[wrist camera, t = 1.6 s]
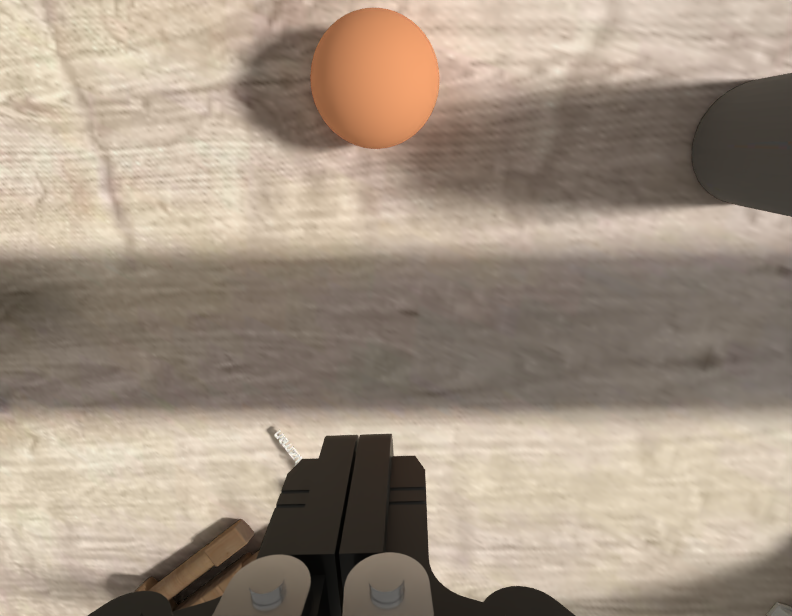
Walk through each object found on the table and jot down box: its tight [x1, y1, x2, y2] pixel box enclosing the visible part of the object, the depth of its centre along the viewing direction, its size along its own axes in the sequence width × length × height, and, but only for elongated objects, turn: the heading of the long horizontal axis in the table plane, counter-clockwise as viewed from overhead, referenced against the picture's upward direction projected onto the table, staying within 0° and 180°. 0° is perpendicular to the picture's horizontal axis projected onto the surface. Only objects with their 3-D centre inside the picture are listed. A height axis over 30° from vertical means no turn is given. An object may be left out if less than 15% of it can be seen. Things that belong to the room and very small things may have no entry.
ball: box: [310, 8, 439, 149], centre depth 22 cm, size 6×6×6 cm
